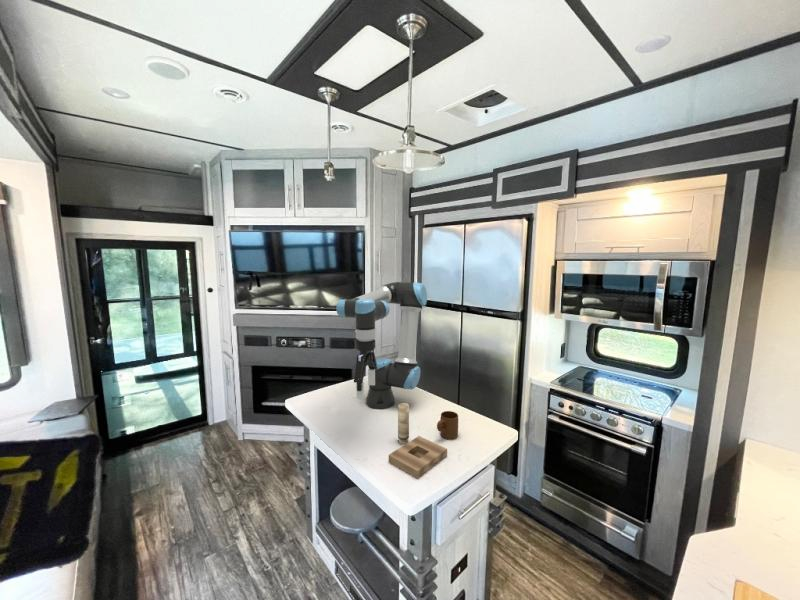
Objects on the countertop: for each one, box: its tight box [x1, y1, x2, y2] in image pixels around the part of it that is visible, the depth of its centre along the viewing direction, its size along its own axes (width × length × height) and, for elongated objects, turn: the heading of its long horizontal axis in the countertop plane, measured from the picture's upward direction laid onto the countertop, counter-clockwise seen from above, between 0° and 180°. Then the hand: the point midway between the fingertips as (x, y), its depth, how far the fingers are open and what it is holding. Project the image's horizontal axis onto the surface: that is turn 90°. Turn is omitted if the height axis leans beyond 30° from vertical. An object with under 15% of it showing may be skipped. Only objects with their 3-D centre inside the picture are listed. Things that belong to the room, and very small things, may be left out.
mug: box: [436, 410, 459, 441], centre depth 139 cm, size 12×8×9 cm, turn 136°
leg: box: [397, 402, 410, 446], centre depth 135 cm, size 5×5×16 cm
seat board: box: [388, 435, 448, 480], centre depth 124 cm, size 18×14×3 cm
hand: (366, 391), depth 130 cm, fingers open, 13 cm apart
